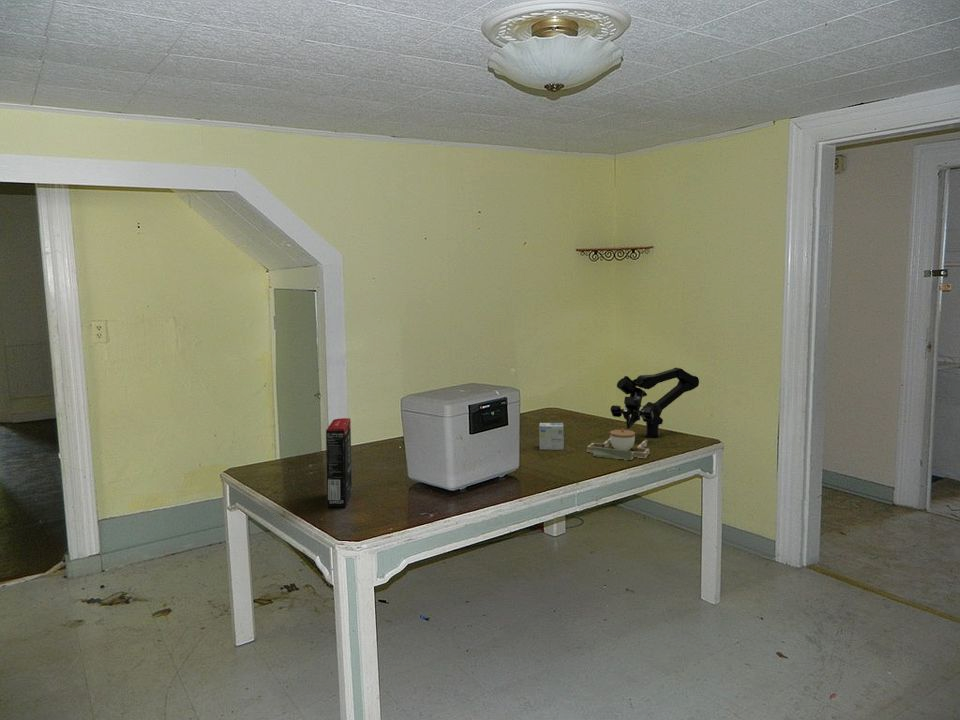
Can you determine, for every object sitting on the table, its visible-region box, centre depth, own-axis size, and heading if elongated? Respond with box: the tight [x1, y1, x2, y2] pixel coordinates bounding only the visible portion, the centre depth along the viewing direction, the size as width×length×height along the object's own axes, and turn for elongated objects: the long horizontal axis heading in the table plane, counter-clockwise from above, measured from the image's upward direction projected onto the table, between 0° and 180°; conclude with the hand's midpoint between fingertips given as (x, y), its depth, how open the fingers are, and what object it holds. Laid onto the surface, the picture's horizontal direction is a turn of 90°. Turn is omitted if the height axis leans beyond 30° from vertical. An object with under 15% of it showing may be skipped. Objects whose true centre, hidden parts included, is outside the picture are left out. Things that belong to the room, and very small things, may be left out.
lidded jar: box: [609, 427, 636, 451], centre depth 307 cm, size 11×11×9 cm
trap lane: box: [586, 437, 651, 461], centre depth 306 cm, size 28×25×4 cm
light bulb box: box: [538, 422, 565, 451], centre depth 311 cm, size 11×7×11 cm, turn 84°
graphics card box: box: [325, 417, 353, 508], centre depth 243 cm, size 17×7×27 cm, turn 4°
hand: (627, 428), depth 316 cm, fingers closed
